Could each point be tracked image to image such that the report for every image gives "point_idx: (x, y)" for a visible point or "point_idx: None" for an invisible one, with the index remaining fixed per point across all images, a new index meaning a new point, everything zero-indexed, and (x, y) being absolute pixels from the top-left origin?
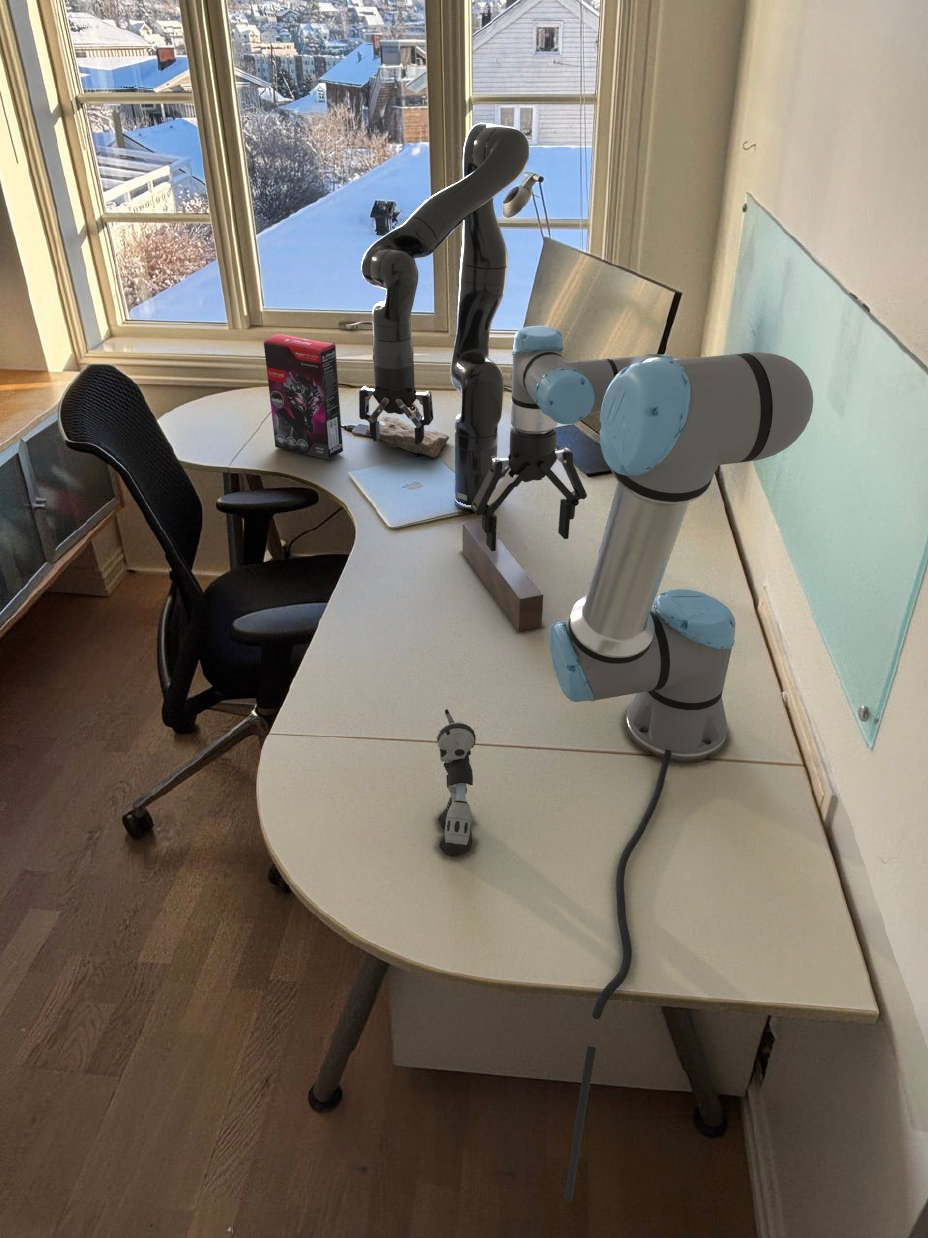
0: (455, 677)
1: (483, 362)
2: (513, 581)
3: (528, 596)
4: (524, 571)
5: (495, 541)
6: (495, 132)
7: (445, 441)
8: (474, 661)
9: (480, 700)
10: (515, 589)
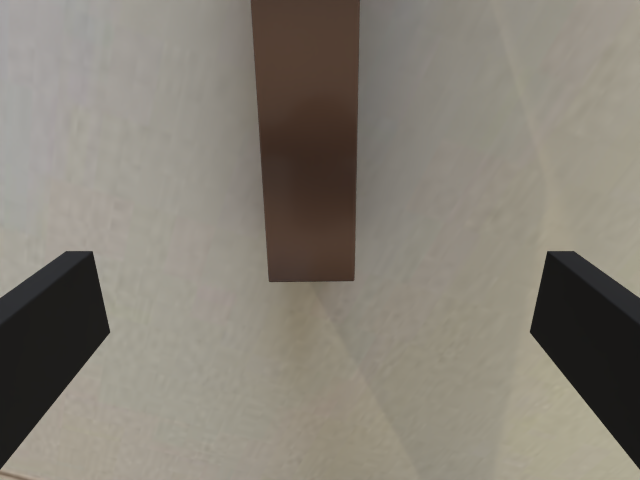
0: None
1: None
2: (286, 171)
3: (301, 276)
4: (355, 114)
5: (74, 373)
6: None
7: None
8: (140, 308)
9: (128, 417)
10: (274, 224)
